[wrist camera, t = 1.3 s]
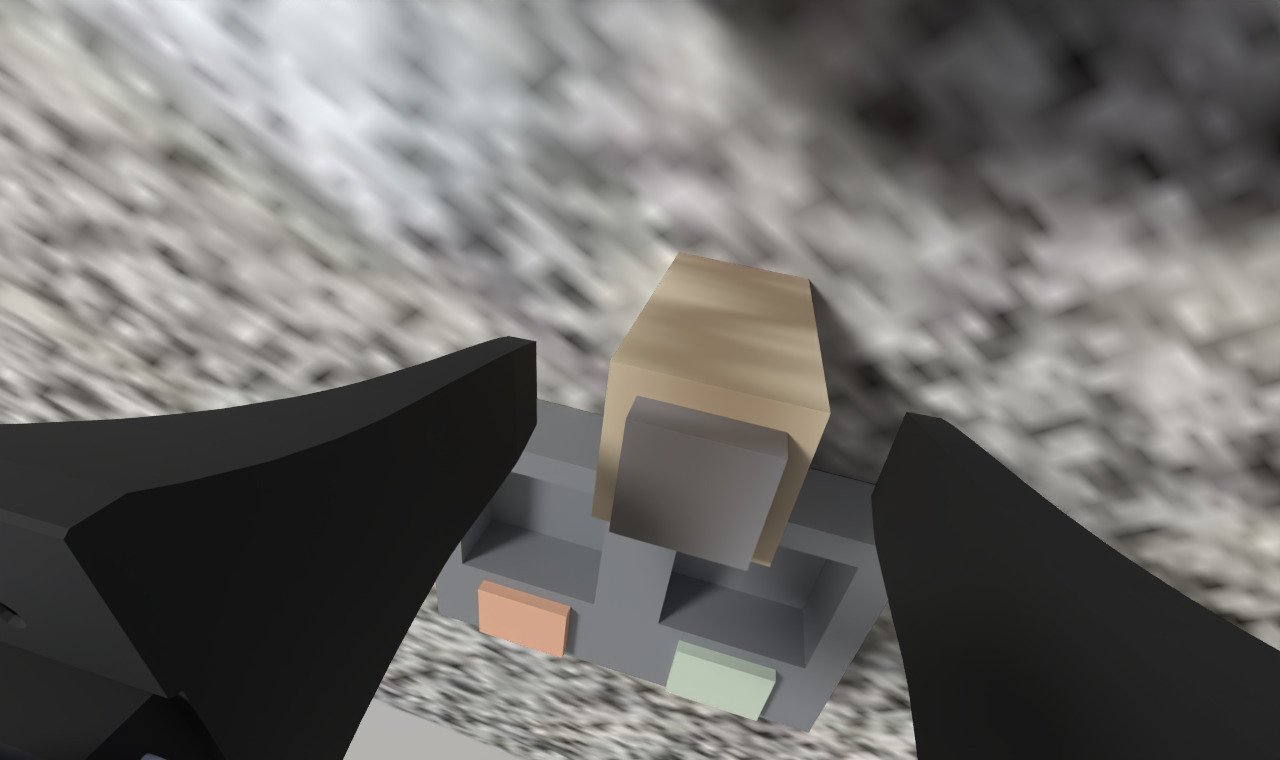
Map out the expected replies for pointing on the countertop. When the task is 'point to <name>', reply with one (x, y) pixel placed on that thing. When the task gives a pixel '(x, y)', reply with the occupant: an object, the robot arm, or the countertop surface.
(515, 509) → the port board
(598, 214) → the countertop surface
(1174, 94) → the countertop surface
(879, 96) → the countertop surface
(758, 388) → the plug
